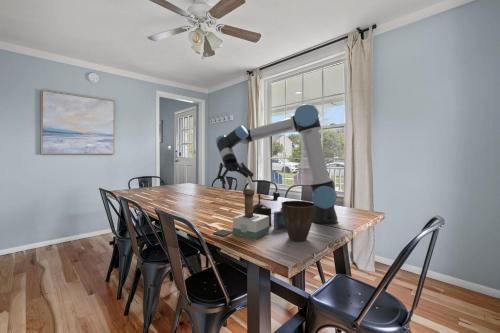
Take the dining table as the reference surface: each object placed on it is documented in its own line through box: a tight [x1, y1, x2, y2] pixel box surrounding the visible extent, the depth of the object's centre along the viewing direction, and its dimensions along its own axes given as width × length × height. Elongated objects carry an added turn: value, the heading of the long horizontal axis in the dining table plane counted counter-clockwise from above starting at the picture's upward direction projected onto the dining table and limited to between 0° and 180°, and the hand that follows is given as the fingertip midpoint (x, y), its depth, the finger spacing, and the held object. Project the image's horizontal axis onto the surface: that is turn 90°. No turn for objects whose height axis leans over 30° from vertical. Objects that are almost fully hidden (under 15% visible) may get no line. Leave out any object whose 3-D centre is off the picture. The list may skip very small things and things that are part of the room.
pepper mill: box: [253, 191, 281, 227], centre depth 134 cm, size 16×11×18 cm
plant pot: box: [280, 200, 315, 242], centre depth 110 cm, size 15×15×16 cm
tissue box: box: [232, 213, 270, 240], centre depth 118 cm, size 13×12×9 cm
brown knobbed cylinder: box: [242, 188, 255, 218], centre depth 116 cm, size 5×5×18 cm
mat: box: [212, 228, 233, 238], centre depth 118 cm, size 7×7×1 cm
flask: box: [273, 207, 287, 231], centre depth 125 cm, size 9×3×11 cm, turn 109°
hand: (240, 188), depth 123 cm, fingers open, 13 cm apart
